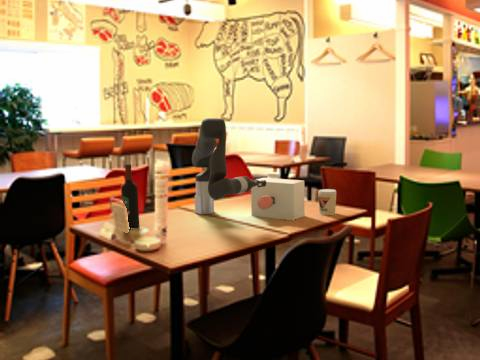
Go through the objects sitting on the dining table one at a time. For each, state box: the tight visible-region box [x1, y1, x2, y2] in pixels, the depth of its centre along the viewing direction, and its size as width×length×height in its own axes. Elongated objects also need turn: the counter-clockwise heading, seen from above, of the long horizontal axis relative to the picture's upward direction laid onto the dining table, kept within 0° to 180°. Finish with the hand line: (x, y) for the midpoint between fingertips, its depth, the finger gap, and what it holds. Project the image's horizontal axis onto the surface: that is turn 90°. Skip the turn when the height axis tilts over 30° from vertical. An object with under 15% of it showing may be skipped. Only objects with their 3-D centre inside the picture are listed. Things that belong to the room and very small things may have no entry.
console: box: [250, 177, 306, 221], centre depth 280 cm, size 12×24×18 cm, turn 56°
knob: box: [257, 195, 275, 210], centre depth 272 cm, size 10×6×6 cm, turn 146°
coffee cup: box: [317, 188, 337, 216], centre depth 283 cm, size 9×9×12 cm
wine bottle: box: [120, 163, 140, 230], centre depth 261 cm, size 8×8×30 cm
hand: (257, 182), depth 261 cm, fingers open, 8 cm apart
